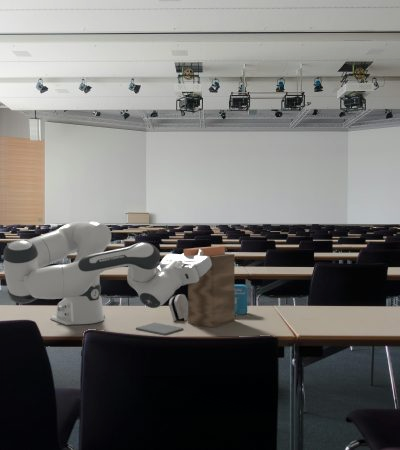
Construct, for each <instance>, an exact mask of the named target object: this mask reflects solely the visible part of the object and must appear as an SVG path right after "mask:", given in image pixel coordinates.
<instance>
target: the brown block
mask: <svg viewBox="0 0 400 450" xmlns="http://www.w3.org/2000/svg"><path fill="white" fill-rule="evenodd" d="M209 257H210V259H211V262H212V266H211V268H210V269H209V270H208V271H207V272H206V273H205V274H204V275H203V276H201V277H199V281H198V282H196V283H190V284H187V301H188V320H187V322H188V324H192V325H197V326H202V327H208V328H216V327H219V326H222V325H225V324H226V325H227V324H228V323H231V322H235V316H236V315H235V294H234V284H235V254H234V253H233V254H232V253H225V254H219V255H211V256H209Z"/></svg>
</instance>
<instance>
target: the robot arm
mask: <svg viewBox="0 0 400 450" xmlns="http://www.w3.org/2000/svg"><path fill="white" fill-rule="evenodd" d="M111 241H112V232H111V229H110V228H109V227H108V225H107V224H104V223H102V222H98V221H72V222H68V223H65V224H64V225H62V226H61V227H58V228H57V229H55V230H53V231H50V232H47V233H43V234H40V235H39V236H35V237H32V238H29V239H27V240H26V239H17V240H13V241H11V242H9V243H8V244H7V245H6V246H5V248H4V250H3V256H2V257H3V271H4V277H5V281H6V282H5V283H6V286H7V293H8V296H9V298H10V300H11V301H13V302H15V303H17V304H22V305H23V304H24V305H25V304H29V303H32V302H34V301H36V300H38V299H42V300H43V299H44V300H56V299H57V300H58V299H59V300H60V299H62V300H61V301H59V302H57V306H56V313H55V314H53V315H51V316H50V317H49V319H50V320H52V321H55V322H58V323H60V324H61V325H62V324H63V325H64V326H65V325H66V326H69V325H72V326H73V325H88V324H89V325H91V324H96V323H97V324H98V323H101V322H102V321H104V320H105V317H106V315H105V313H104V310H103V309H104V308H103V300H102V299H103V297H102V296H101V293H102V286H101V285H102V284H100V276H101V275H100V274H101V273H103V272H105V271H109V270H114V269H119V268H124V267H128V268H127V274H126V275H127V276H126V277H127V278H126V281H127V284H128V285H129V287H131V288H132V289H134V290H135V291H136V292H137V294H138V297H139V300H140V302H141V303H142V304H143V305H144V306H146V308H147V307H148V308H151V309H156V308H159V307H161V306H162V305H164V304H165V303H166V302H167V301H168V300H170V299H171V298H172V297H173V295H174V294H175V293H176V291H177V290H178V289H180V287H181V286H186V285H188V284H190V283H196V282H198V281H199V277H201V276H203V275H204V274H205V273H206V272H207V271H208V270H209V269H210V268H211V266H212V262H211V259H210V257H209V256H202V255H203V251H202V250H198V251H197V254H198V255H190V256H184V252H183V253H181V254H178V253H168V254H166V255H165V256H164V257H163V258H162V259H161V252H160V250H159V249H158V247H156V246H155V245H154V244H152V243H149V242H145V241H144V242H143V241H141V242H137V243H135V244H132V245H129V246H127V247H123V248H116V249H112V250H108V251H105V250H106V248H107V247H108V246H110V245H109V244H110V243H111ZM75 251H77V253H76V257H75V259H74V260H73V262H69V263H63V264H55V263H57V262H60V261H62V260H64V259H66V258H67V257H68V256H69V255H70V254H71V253H73V252H75ZM160 260H161V261H160ZM51 264H55V265H51Z"/></svg>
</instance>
